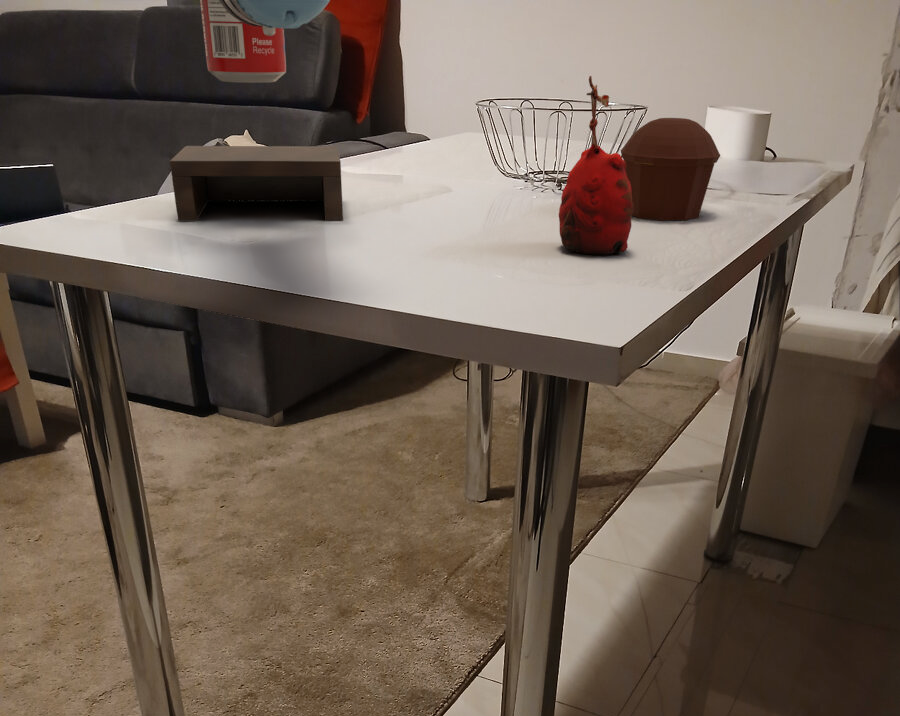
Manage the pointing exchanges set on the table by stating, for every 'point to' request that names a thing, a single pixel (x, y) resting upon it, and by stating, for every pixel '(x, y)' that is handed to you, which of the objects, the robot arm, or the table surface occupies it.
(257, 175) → the stand
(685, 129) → the muffin
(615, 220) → the red clay folk toy
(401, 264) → the table surface
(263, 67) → the soda can
